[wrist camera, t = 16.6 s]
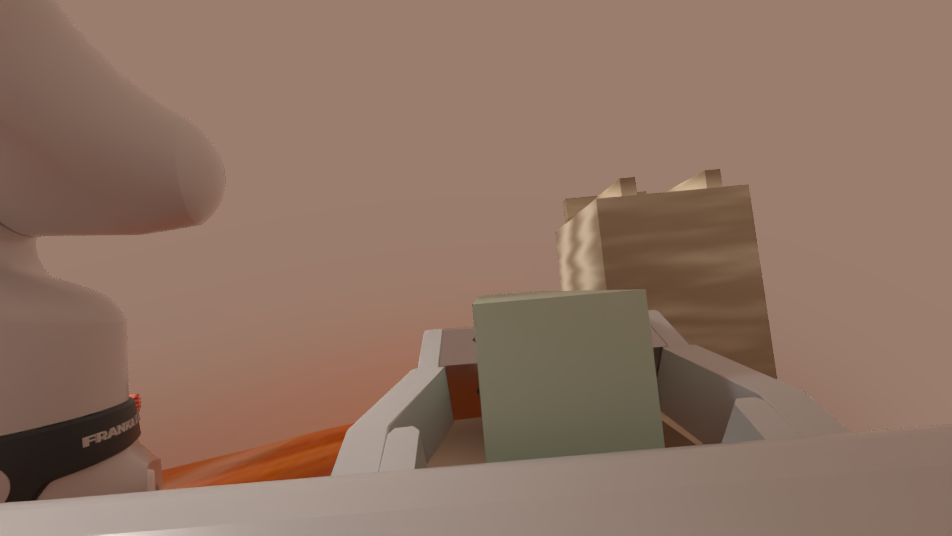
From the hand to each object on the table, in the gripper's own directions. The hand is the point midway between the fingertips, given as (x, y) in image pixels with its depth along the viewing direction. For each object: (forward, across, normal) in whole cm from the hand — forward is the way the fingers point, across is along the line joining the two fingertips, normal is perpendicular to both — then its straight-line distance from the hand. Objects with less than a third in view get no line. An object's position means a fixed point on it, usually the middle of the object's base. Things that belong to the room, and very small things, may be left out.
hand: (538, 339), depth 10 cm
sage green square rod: (+4, 0, +5) cm, 7 cm away
